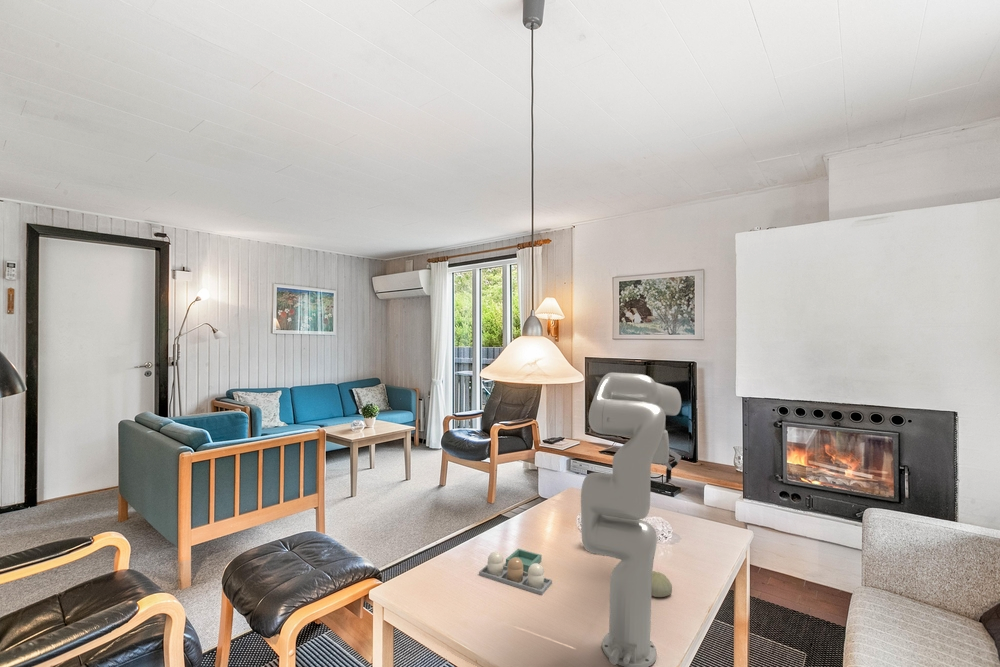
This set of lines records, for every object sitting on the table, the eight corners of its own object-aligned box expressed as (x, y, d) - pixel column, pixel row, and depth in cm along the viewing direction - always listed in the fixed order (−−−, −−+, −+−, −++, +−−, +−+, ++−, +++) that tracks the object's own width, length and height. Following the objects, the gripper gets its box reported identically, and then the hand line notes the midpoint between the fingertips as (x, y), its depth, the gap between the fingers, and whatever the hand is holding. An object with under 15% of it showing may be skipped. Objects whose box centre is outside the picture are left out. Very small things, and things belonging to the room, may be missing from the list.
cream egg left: (498, 578, 146) (498, 557, 146) (484, 574, 148) (485, 553, 148) (505, 571, 150) (506, 551, 150) (492, 567, 152) (493, 547, 152)
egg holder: (530, 574, 150) (530, 566, 150) (505, 567, 154) (505, 559, 154) (541, 562, 157) (541, 555, 157) (518, 556, 161) (518, 548, 161)
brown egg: (518, 584, 142) (519, 563, 142) (504, 580, 145) (504, 559, 145) (525, 577, 147) (526, 556, 147) (511, 573, 149) (512, 553, 149)
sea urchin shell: (653, 596, 135) (642, 567, 141) (641, 605, 141) (631, 576, 146) (680, 592, 138) (669, 563, 143) (668, 600, 143) (657, 572, 149)
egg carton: (541, 596, 137) (542, 591, 137) (478, 576, 148) (479, 571, 148) (552, 584, 144) (552, 579, 144) (491, 566, 154) (491, 561, 154)
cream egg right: (539, 591, 139) (540, 569, 139) (524, 586, 141) (525, 565, 141) (546, 584, 143) (546, 562, 143) (531, 579, 146) (532, 558, 146)
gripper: (623, 425, 152) (622, 478, 153) (681, 430, 146) (680, 486, 146) (626, 420, 159) (625, 472, 160) (682, 426, 153) (680, 479, 153)
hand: (651, 479), depth 153 cm, fingers open, 9 cm apart
